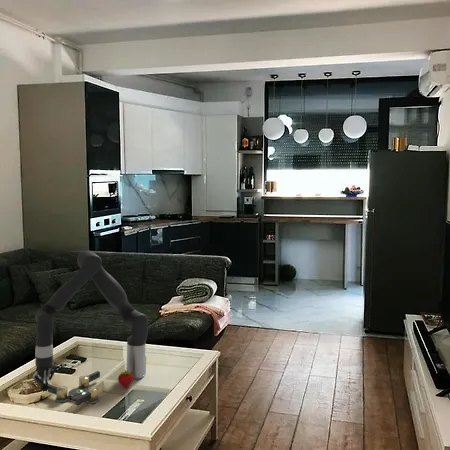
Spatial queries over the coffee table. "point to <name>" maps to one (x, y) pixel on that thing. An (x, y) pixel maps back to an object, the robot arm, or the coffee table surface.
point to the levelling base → (76, 395)
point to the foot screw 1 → (58, 391)
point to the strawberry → (125, 379)
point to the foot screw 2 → (88, 396)
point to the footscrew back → (88, 379)
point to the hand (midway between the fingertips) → (44, 390)
